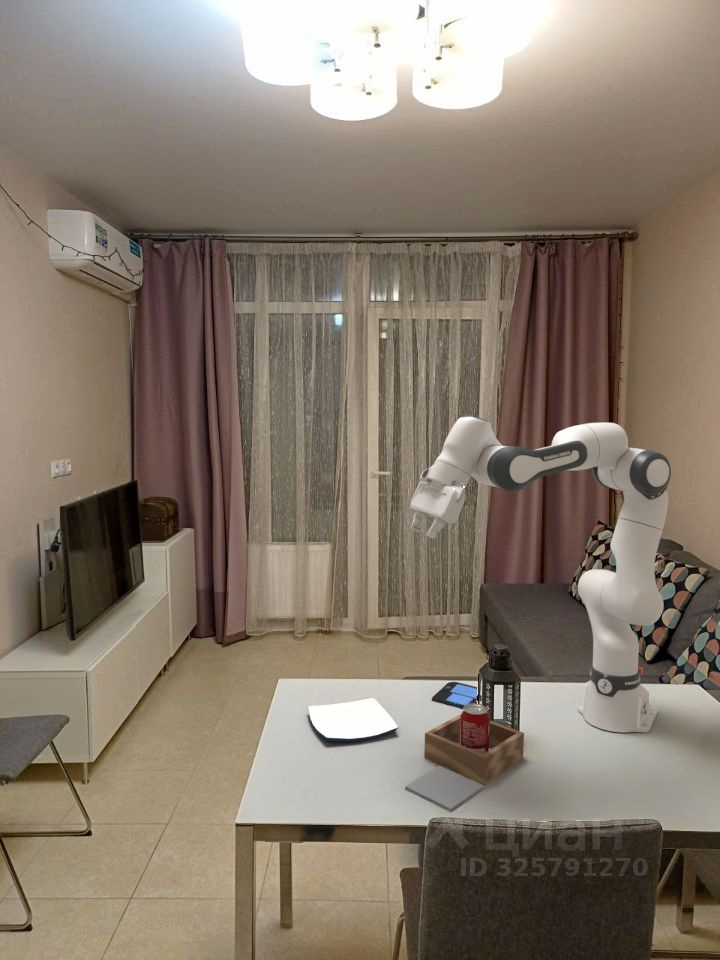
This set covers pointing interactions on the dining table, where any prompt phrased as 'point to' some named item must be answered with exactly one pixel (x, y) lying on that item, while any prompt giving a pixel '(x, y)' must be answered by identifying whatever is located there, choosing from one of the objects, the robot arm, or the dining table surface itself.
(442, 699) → the game console
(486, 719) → the soda can
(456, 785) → the mat
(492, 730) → the box
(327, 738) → the plate
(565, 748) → the dining table surface
